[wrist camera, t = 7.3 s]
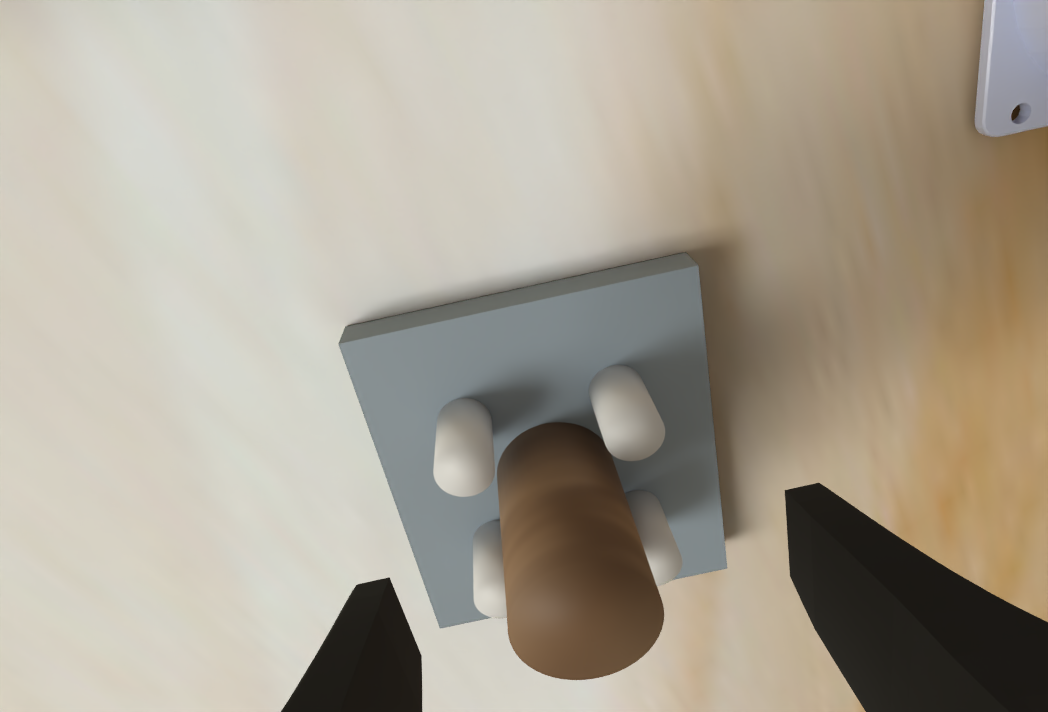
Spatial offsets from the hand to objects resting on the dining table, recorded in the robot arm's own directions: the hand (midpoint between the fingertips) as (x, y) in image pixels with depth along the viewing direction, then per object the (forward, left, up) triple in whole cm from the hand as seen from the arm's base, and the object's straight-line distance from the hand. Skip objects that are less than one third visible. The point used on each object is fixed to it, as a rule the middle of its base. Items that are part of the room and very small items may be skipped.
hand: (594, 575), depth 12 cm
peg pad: (0, +3, -9) cm, 10 cm away
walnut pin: (0, +4, -8) cm, 9 cm away
